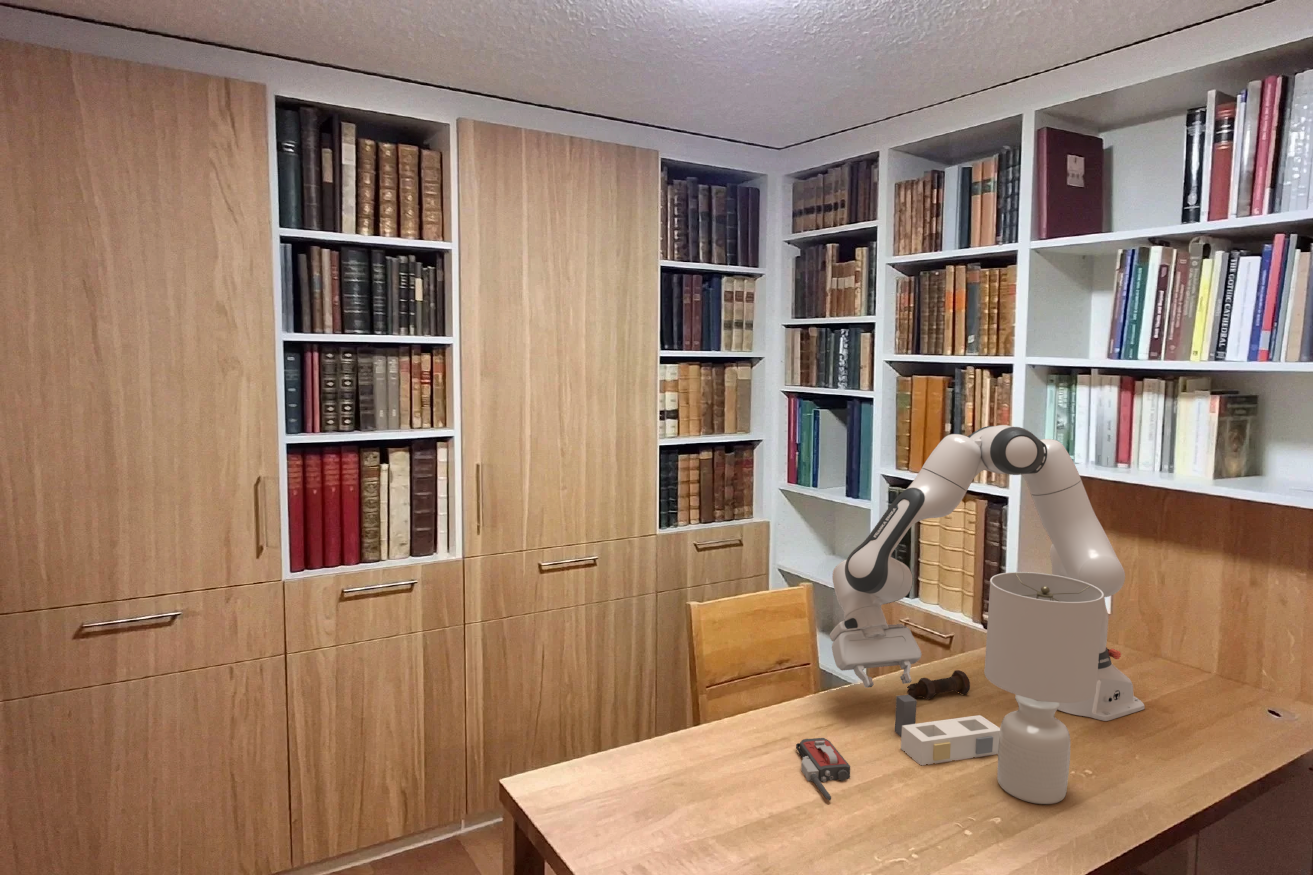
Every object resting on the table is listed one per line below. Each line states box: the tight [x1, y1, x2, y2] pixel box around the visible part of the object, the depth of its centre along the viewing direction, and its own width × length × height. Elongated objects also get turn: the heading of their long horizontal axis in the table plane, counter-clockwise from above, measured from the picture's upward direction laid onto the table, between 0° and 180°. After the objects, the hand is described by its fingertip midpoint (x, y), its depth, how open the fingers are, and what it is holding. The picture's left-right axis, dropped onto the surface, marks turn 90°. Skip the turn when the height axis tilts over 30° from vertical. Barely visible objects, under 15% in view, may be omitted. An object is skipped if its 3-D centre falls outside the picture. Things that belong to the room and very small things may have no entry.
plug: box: [894, 694, 918, 737], centre depth 173 cm, size 3×3×8 cm
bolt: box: [906, 669, 971, 700], centre depth 193 cm, size 6×5×15 cm
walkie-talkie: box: [795, 737, 851, 801], centre depth 157 cm, size 9×4×20 cm
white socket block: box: [900, 714, 1000, 766], centre depth 166 cm, size 19×8×5 cm, turn 106°
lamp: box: [983, 571, 1105, 805], centre depth 151 cm, size 19×19×39 cm
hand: (888, 684), depth 178 cm, fingers open, 8 cm apart
